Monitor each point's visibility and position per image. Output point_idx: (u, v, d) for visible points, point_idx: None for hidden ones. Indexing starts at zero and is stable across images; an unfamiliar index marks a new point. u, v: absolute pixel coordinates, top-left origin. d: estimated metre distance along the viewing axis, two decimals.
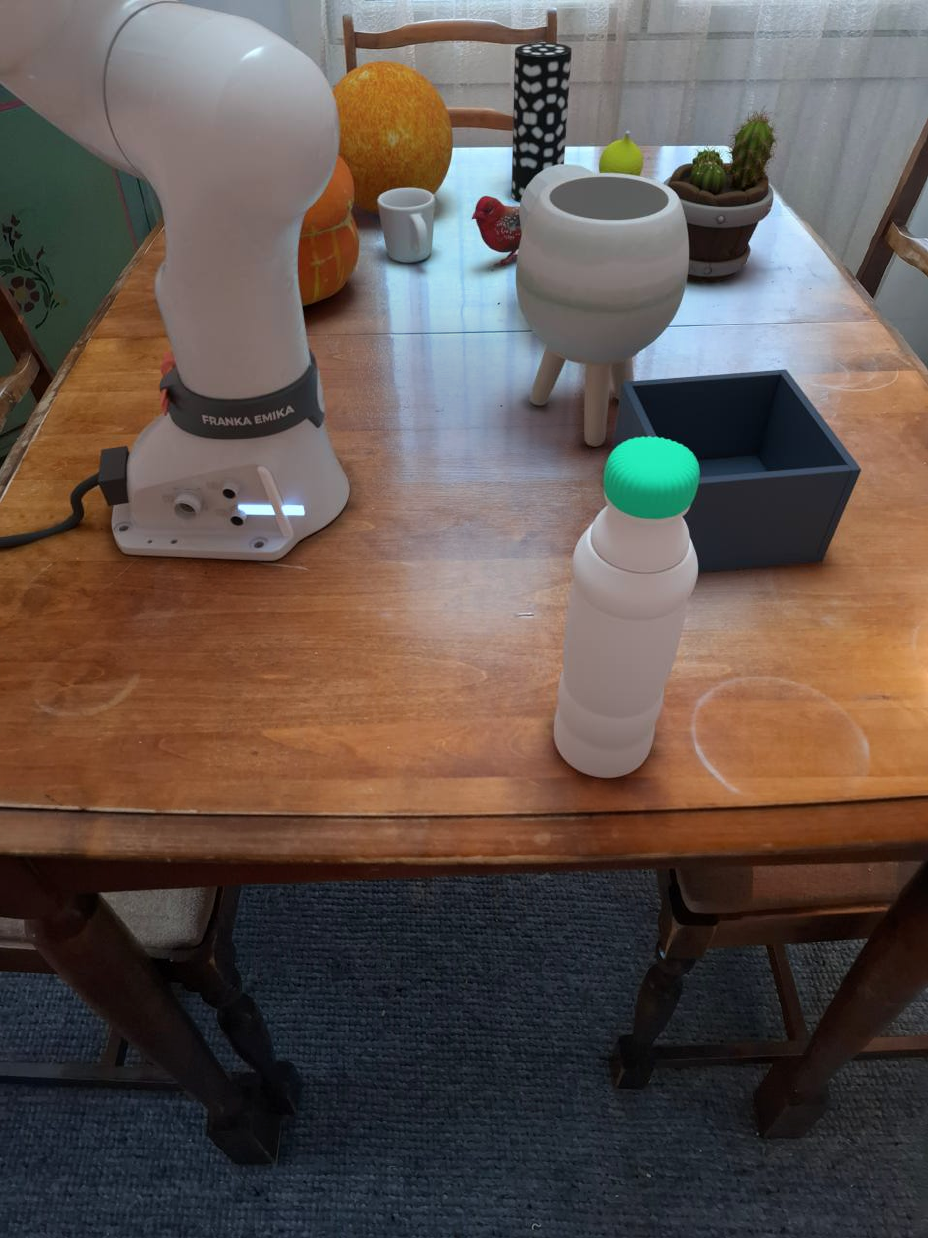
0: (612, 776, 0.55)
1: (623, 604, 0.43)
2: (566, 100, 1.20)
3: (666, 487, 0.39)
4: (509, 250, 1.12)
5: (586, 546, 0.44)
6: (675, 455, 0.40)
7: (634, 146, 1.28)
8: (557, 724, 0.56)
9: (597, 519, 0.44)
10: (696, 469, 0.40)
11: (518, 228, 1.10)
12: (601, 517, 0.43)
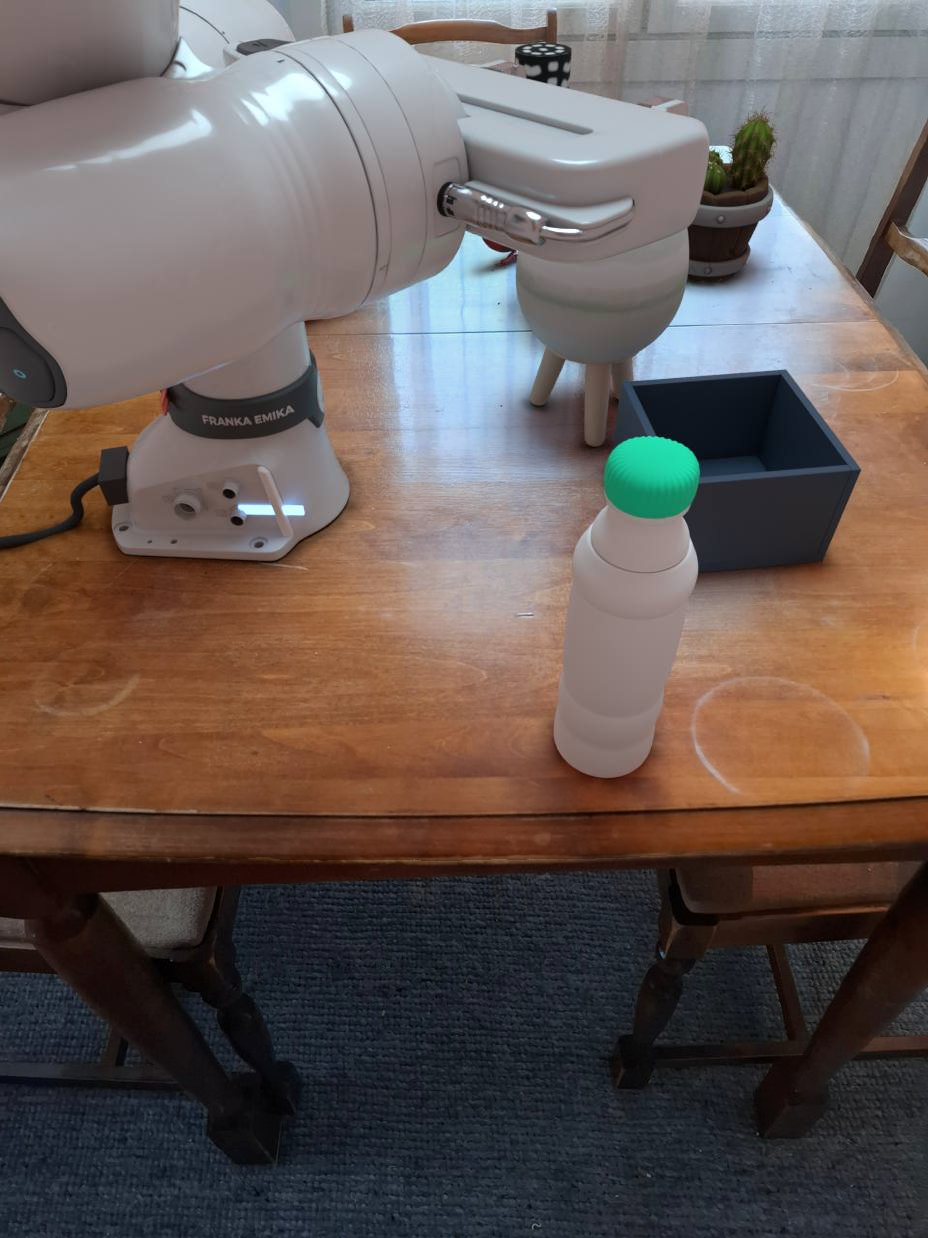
0: (612, 776, 0.55)
1: (623, 604, 0.43)
2: None
3: (666, 487, 0.39)
4: (509, 250, 1.12)
5: (586, 546, 0.44)
6: (675, 455, 0.40)
7: None
8: (557, 724, 0.56)
9: (597, 519, 0.44)
10: (697, 468, 0.40)
11: None
12: (601, 517, 0.43)
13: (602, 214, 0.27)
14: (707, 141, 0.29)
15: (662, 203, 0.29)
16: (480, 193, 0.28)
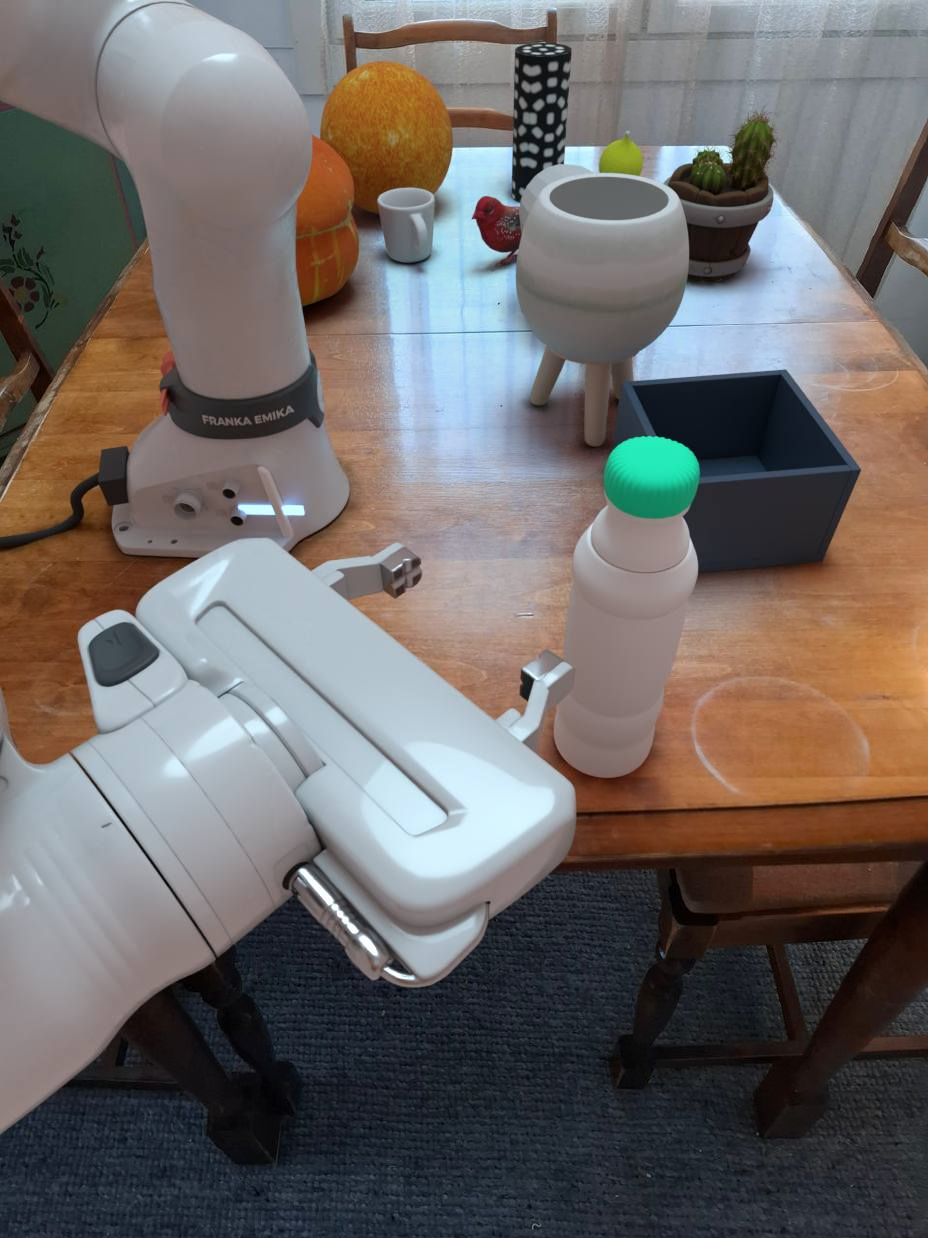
0: (612, 776, 0.55)
1: (623, 604, 0.43)
2: (566, 100, 1.20)
3: (666, 486, 0.39)
4: (509, 250, 1.12)
5: (586, 546, 0.44)
6: (675, 455, 0.40)
7: (634, 146, 1.28)
8: (557, 724, 0.56)
9: (597, 519, 0.44)
10: (697, 468, 0.40)
11: (518, 228, 1.10)
12: (601, 517, 0.43)
13: (447, 953, 0.25)
14: (571, 819, 0.27)
15: (524, 881, 0.27)
16: (323, 899, 0.26)
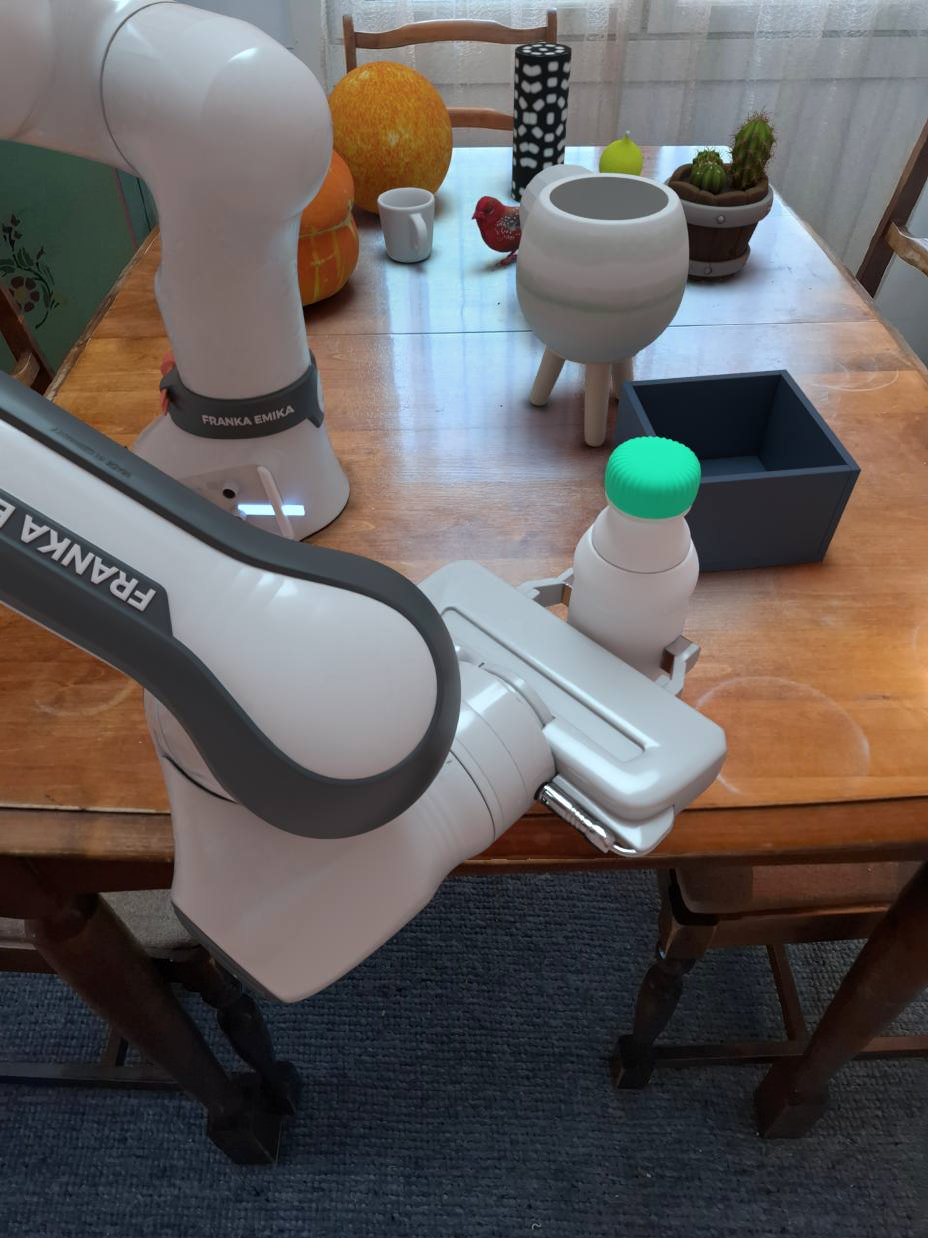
0: None
1: (624, 604, 0.43)
2: (566, 100, 1.20)
3: (667, 487, 0.39)
4: (509, 250, 1.12)
5: (587, 546, 0.44)
6: (676, 455, 0.40)
7: (634, 146, 1.28)
8: None
9: (598, 519, 0.44)
10: (698, 469, 0.40)
11: (518, 228, 1.10)
12: (602, 517, 0.43)
13: (653, 836, 0.38)
14: (725, 752, 0.41)
15: (693, 793, 0.41)
16: (566, 804, 0.40)
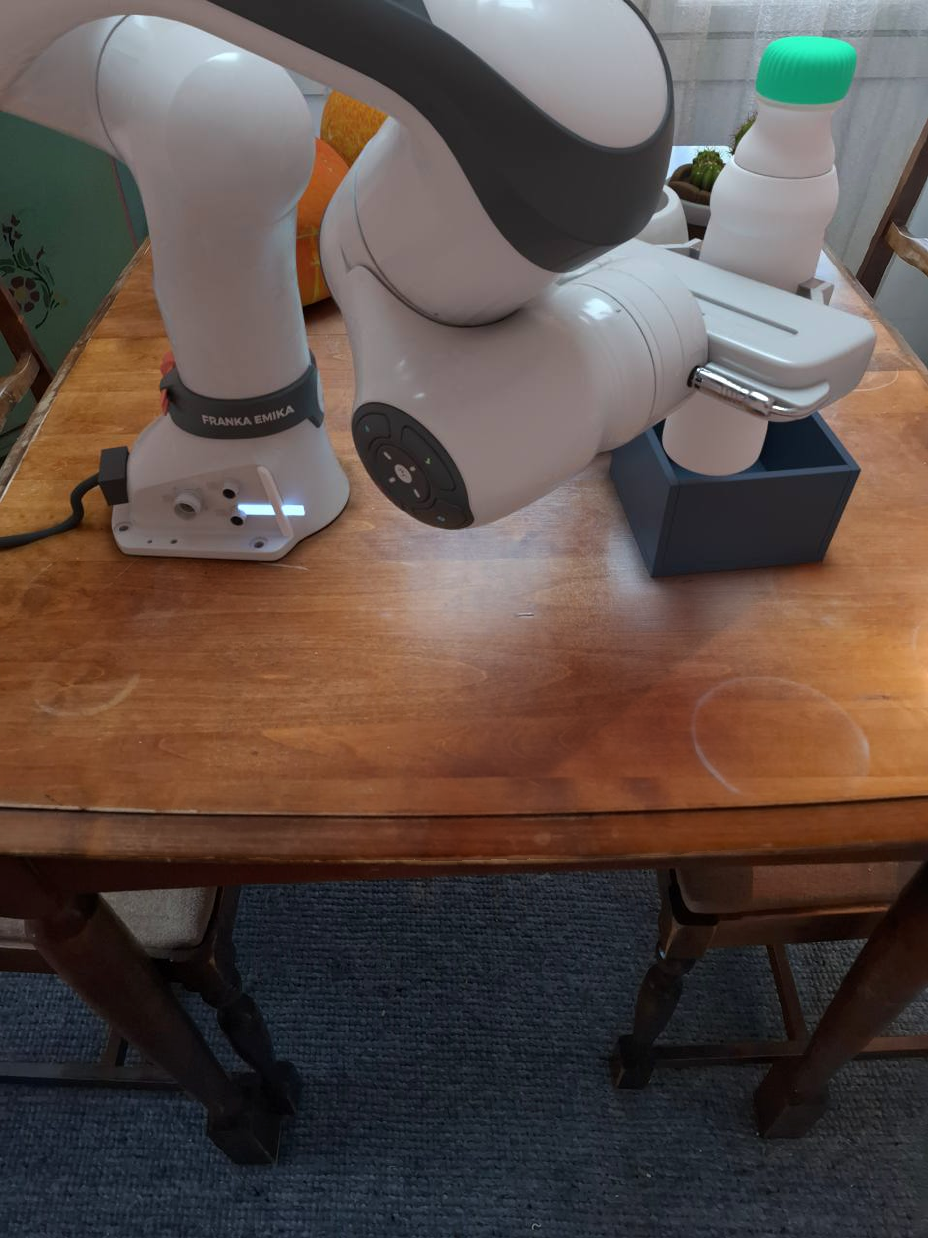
0: (725, 471, 0.56)
1: (769, 216, 0.44)
2: None
3: (828, 59, 0.40)
4: None
5: (730, 167, 0.45)
6: (832, 41, 0.41)
7: None
8: (670, 422, 0.57)
9: (742, 138, 0.44)
10: (854, 52, 0.41)
11: None
12: (748, 132, 0.44)
13: (812, 397, 0.39)
14: (876, 338, 0.41)
15: (843, 380, 0.42)
16: (723, 377, 0.40)
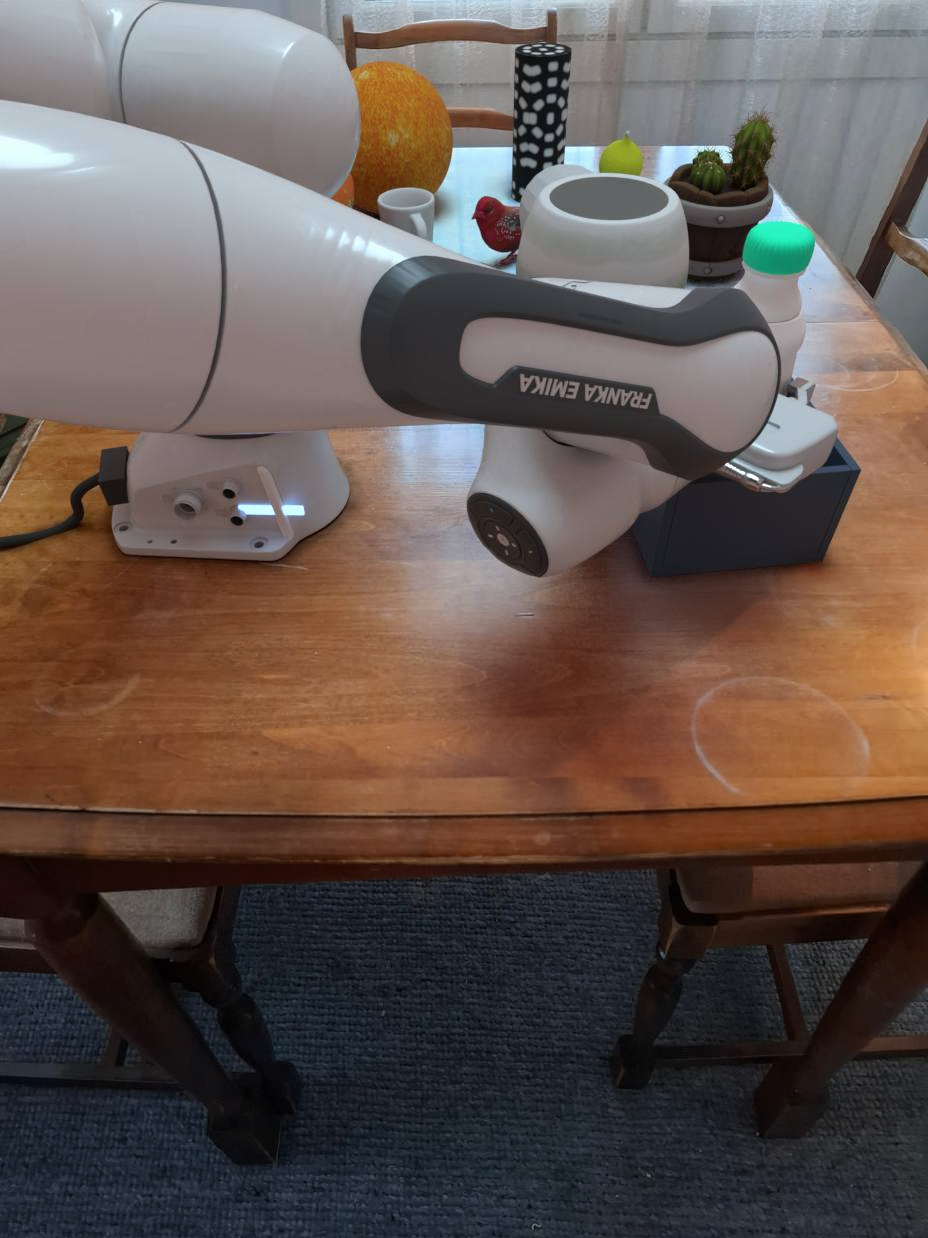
0: None
1: None
2: (566, 100, 1.20)
3: (794, 246, 0.55)
4: (509, 250, 1.12)
5: None
6: (797, 228, 0.56)
7: (634, 146, 1.28)
8: None
9: None
10: (813, 237, 0.56)
11: (518, 228, 1.10)
12: (737, 286, 0.60)
13: (791, 477, 0.55)
14: (837, 430, 0.57)
15: (814, 461, 0.57)
16: None
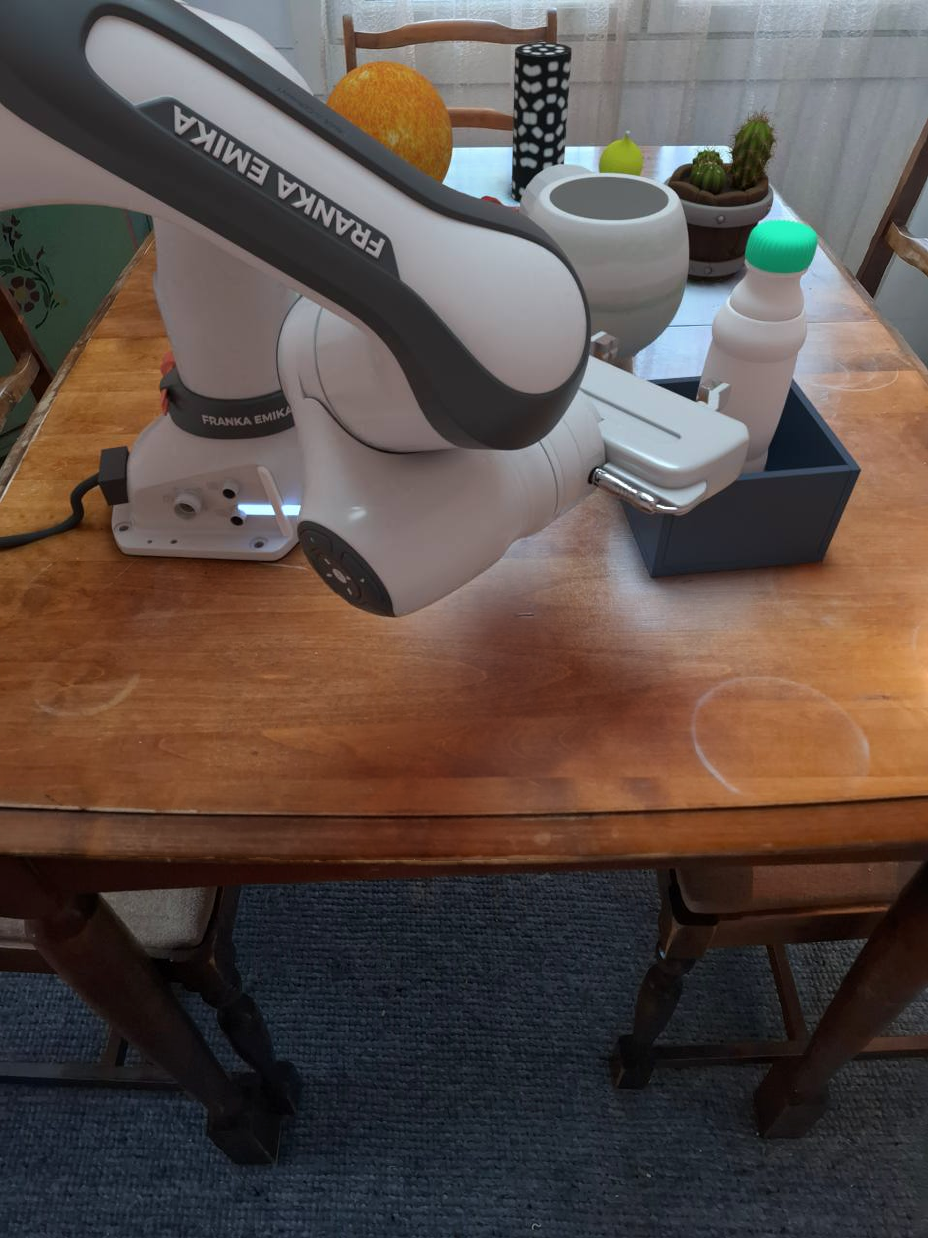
0: None
1: (755, 347, 0.59)
2: (566, 100, 1.20)
3: (796, 244, 0.55)
4: None
5: (727, 308, 0.60)
6: (800, 227, 0.56)
7: (634, 146, 1.28)
8: None
9: (736, 288, 0.60)
10: (816, 236, 0.56)
11: None
12: (739, 285, 0.60)
13: (690, 497, 0.46)
14: (748, 440, 0.48)
15: (722, 476, 0.48)
16: (616, 478, 0.47)
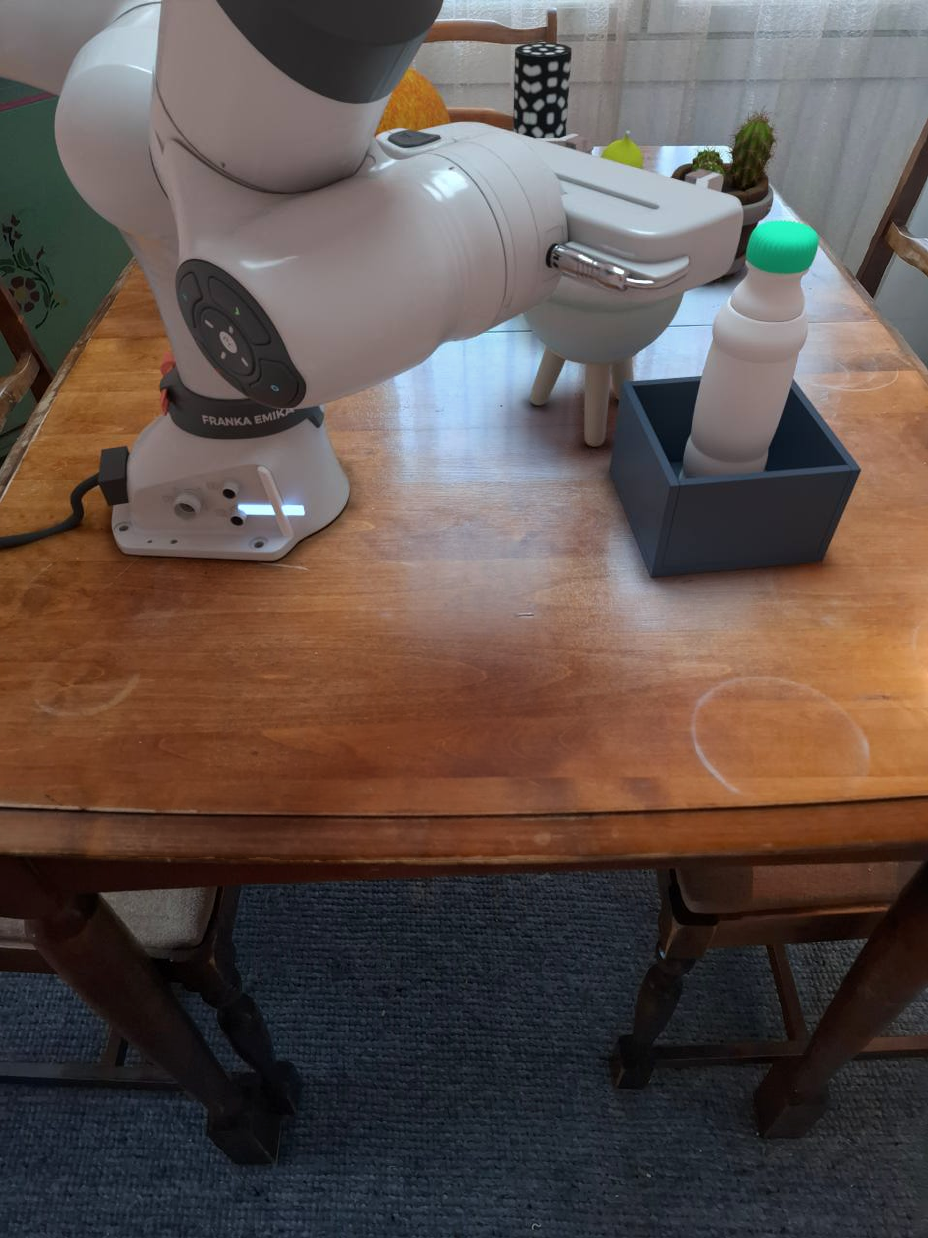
0: None
1: (756, 347, 0.59)
2: (566, 100, 1.20)
3: (797, 245, 0.55)
4: None
5: (727, 309, 0.60)
6: (801, 228, 0.56)
7: (634, 146, 1.28)
8: None
9: (736, 288, 0.60)
10: (817, 237, 0.56)
11: None
12: (740, 285, 0.60)
13: (669, 269, 0.38)
14: (742, 213, 0.40)
15: (709, 258, 0.40)
16: (579, 253, 0.39)
